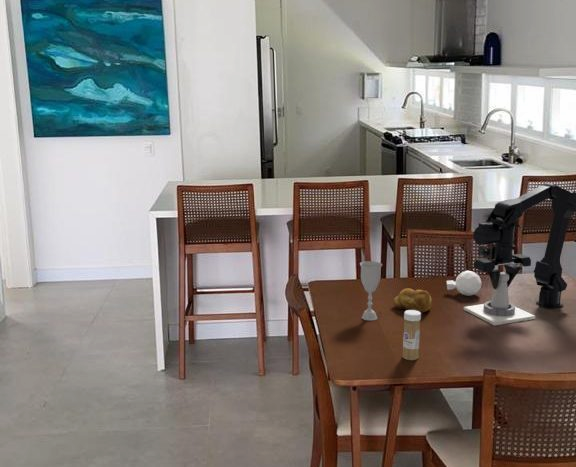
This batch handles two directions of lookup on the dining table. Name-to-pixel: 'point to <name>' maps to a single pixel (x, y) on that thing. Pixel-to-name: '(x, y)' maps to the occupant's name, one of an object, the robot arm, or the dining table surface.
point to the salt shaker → (501, 293)
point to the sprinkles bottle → (411, 334)
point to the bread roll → (413, 300)
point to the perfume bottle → (466, 283)
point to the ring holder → (499, 313)
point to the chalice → (370, 284)
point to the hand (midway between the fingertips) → (500, 288)
